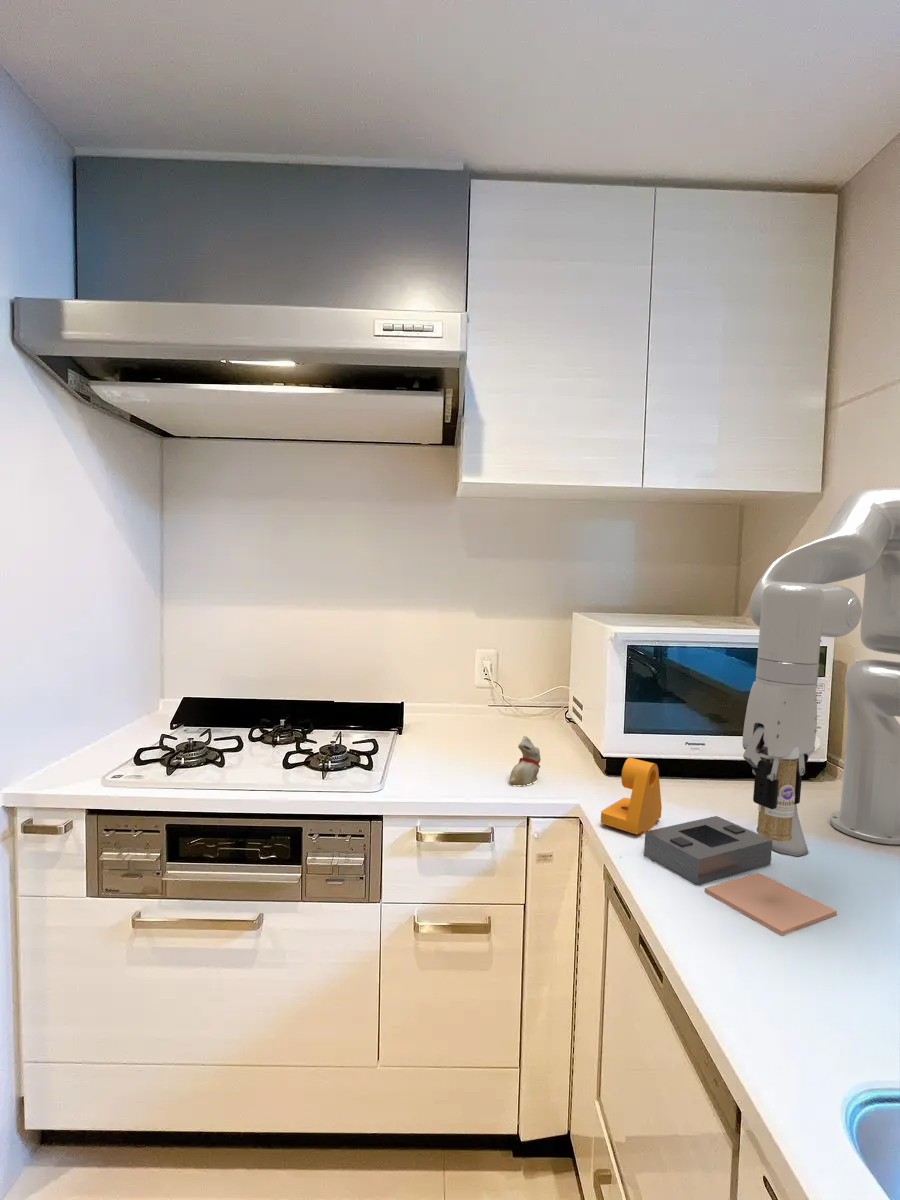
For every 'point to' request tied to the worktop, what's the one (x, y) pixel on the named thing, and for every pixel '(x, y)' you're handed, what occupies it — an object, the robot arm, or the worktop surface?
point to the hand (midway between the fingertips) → (776, 801)
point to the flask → (796, 843)
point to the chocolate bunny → (526, 764)
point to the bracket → (636, 799)
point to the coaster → (770, 903)
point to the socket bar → (707, 849)
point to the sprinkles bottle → (780, 802)
